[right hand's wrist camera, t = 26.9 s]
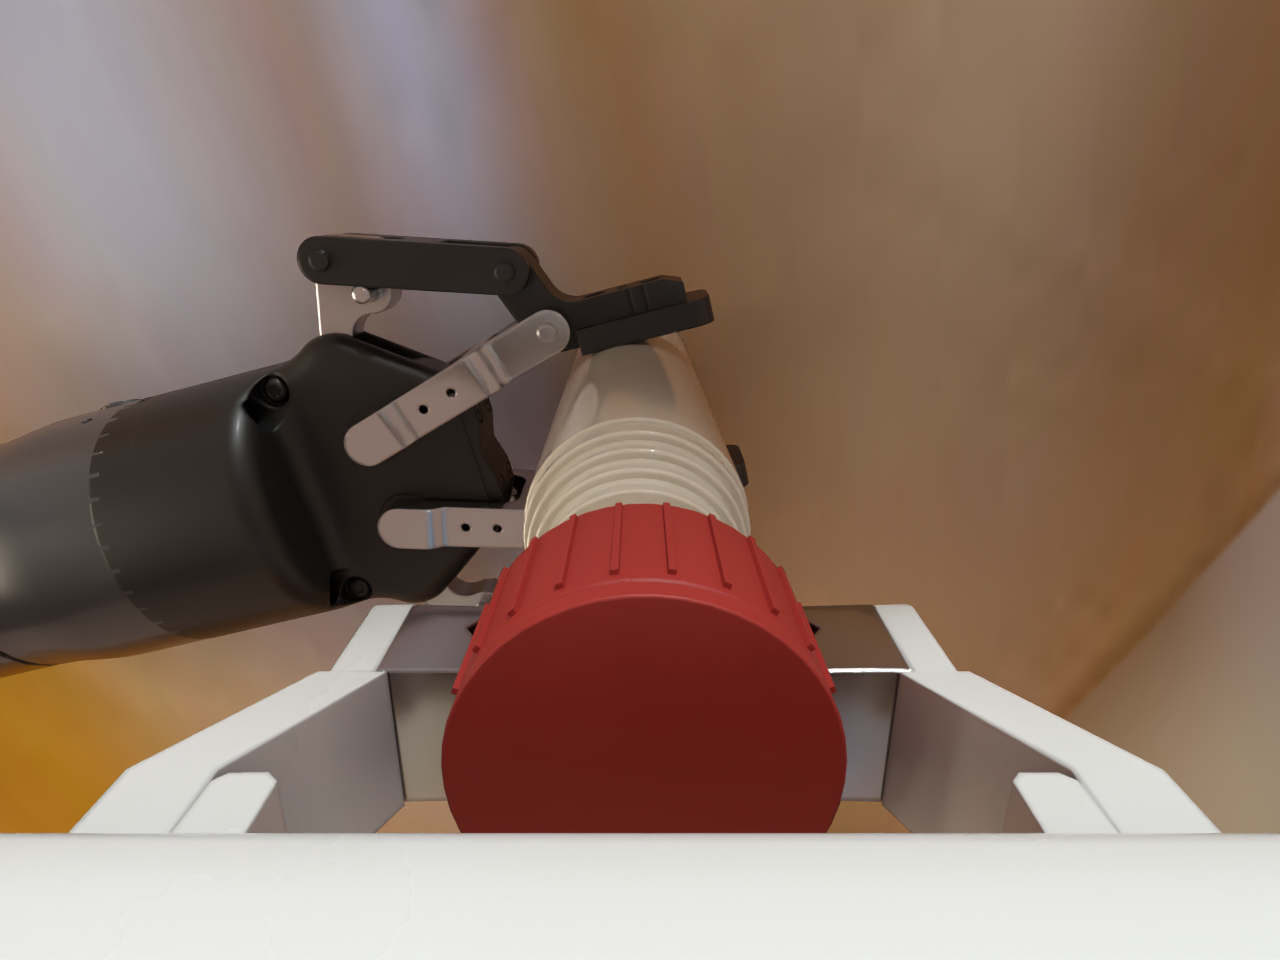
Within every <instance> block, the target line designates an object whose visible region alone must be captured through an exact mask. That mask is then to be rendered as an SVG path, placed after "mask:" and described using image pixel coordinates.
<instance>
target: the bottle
mask: <svg viewBox="0 0 1280 960" xmlns="http://www.w3.org/2000/svg"><path fill="white" fill-rule="evenodd" d="M620 502H622V505H625V504H660V505H663V502H667V503H670V506H676V507H680V508H684V509H689V510H693V511H696V512H699V513H702V514H704V515H707V516H708V515H709V513H711V514H713V515H715V516H716V519H717V520H719V521H721V522H723V523H725V524H727V525H729V526H731V527H733V528H734V529H736V530H737V531H739V532H740V533H741V534H743V535H744V536H746V537H748V536H749V535H750V536H751V525H750V518H749V508H748V501H747V497H746V494H745V490H744V487H743V485H742V482H741V480H740V477H739V475H738V473H737V470H736V468H735V465H734V463H733V461H732V458H731V456H730V453H729V451H728V449H727V446H726V444H725V441H724V439H723V437H722V434H721V432H720V429H719V427H718V425H717V422H716V420H715V417H714V415H713V413H712V410H711V408H710V405H709V403H708V401H707V398H706V396H705V393H704V391H703V389H702V386H701V384H700V381H699V379H698V377H697V374H696V372H695V369H694V367H693V365H692V362H691V360H690V357H689V355H688V353H687V350H686V348H685V346H684V343H683V341H682V340H681V338H680V336H679V335H678V334H677V332H675V333H671V334H667V335H663V336H659V337H655V338H651V339H647V340H643V341H639V342H635V343H631V344H627V345H622V346H617V347H613V348H610V349H606V350H604V351H600V352H596V353H592V354H588V355H584V356H582V354H581V350H580V347H579V348H578V351H577V354H576V357H575V360H574V362H573V365H572V368H571V371H570V374H569V377H568V380H567V383H566V385H565V388H564V391H563V394H562V397H561V400H560V403H559V405H558V408H557V411H556V414H555V417H554V420H553V423H552V426H551V428H550V431H549V434H548V437H547V440H546V443H545V446H544V449H543V451H542V454H541V457H540V460H539V463H538V466H537V469H536V471H535V474H534V477H533V480H532V483H531V486H530V489H529V492H528V495H527V498H526V503H525V509H524V524H523V544H524V550H525V549H526V548H527V547H528V546H529V544H530V541H531V539H532V538H533V537H535V536H536V537H537V538H539V537H541V536H542V535H543V534H545V533H546V532H547V531H549V530H551V529H553V528H554V527H556V526H558V525H560V524H561V523H563V522H565V521H567V520H569V518H570V516H571V515H574V514H576V515H577V516H579V515H582V514H584V513H587V512H591V511H594V510H598V509H602V508H606V507H611V506H615V503H620Z"/></svg>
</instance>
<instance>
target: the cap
mask: <svg viewBox="0 0 1280 960" xmlns="http://www.w3.org/2000/svg"><path fill="white" fill-rule="evenodd" d="M835 692H837V691H836V688H835V685H834V682H833V680H832V678H831V675H830V673H829V670H828V668H827V665H826V663H825V661H824V658H823V656H822V653H821V651H820V649H819V646H818V644H817V641H816V639H815V636H814V634H813V632H812V629H811V627H810V624H809V622H808V620H807V617H806V615H805V612H804V610H803V607H802V605H801V603H800V602H799V603H797V601H796V598H795V596H794V593H793V591H792V588H791V586H790V584H789V581H788V579H787V576H786V574H785V571H784V569H783V568H782V567H781V566H779V567H778V568H777V567H776V566H775V565H774V563H773V562H772V561H771V560H770V558H769V557H768V556H767V555H766V554H765V553H764V552H763V551H762V550H761V549H760V548H759V547H758V546H757V544H756V542H755V539H754V538H753V537H752V536H750V535H749V536H748V537H746V536H744V535H743V534H741V533H740V532H739V531H737V530H736V529H734V528H733V527H731V526H729V525H727V524H725V523H723V522H721V521H719V520H717V519H716V516H715V515H713V514H711V513H709V515H708V516H707V515H704V514H702V513H699V512H696V511H693V510H689V509H684V508H680V507H676V506H670V503H667V502H663V505H660V504H625V505H622V502H620V503H615V506H611V507H606V508H602V509H598V510H594V511H591V512H587V513H584V514H582V515H579V516H577V515H576V514H574V515H571V516H570V518H569V520H567V521H565V522H563V523H561V524H560V525H558V526H556V527H554V528H553V529H551V530H549V531H547V532H546V533H545V534H543V535H542V536H541V537H539V538H537V537H536V536H535V537H533V538H532V539H531V541H530V544H529V546H528V547H527V548H526V549H525V550H524V551H523V552H522V553H521V554H520V555H519V556H518V557H517V558H516V560H515V561H514V562H513V564H512V565H511V566H510V568H509V569H508V568H506V567H504V568H503V570H502V571H501V574H500V577H499V579H498V582H497V584H496V587H495V590H494V592H493V595H492V598H491V600H490V603H489V604H487V603H485V606H484V608H483V611H482V613H481V616H480V618H479V621H478V624H477V626H476V629H475V631H474V634H473V636H472V639H471V641H470V644H469V647H468V649H467V652H466V654H465V657H464V659H463V662H462V664H461V667H460V670H459V672H458V675H457V677H456V680H455V682H454V685H453V687H452V691H451V694H454V695H456V697H455V700H454V702H453V705H452V708H451V711H450V713H449V716H448V719H447V721H446V726H445V731H444V736H443V741H442V754H441V769H442V777H443V785H444V790H445V794H446V797H447V800H448V804H449V807H450V810H451V813H452V815H453V817H454V819H455V821H456V823H457V826H458V828H459V830H460V831H461V833H826V832H827V830H828V829H829V827H830V825H831V824H832V821H833V819H834V817H835V814H836V812H837V809H838V807H839V805H840V801H841V797H842V793H843V789H844V785H845V780H846V769H847V749H846V737H845V733H844V729H843V724H842V720H841V716H840V714H839V711H838V709H837V706H836V704H835V701H834V699H833V696H832V693H835Z"/></svg>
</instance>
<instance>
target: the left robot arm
mask: <svg viewBox="0 0 1280 960" xmlns="http://www.w3.org/2000/svg"><path fill="white" fill-rule="evenodd" d="M297 262H298V266H299V268H300V270H301V272H302V273H303V274H304V276H305V277H306V278H308V279H309V280H310V281H312V282H314V283H316V295H317V307H318V319H319V331H320V336H318V337H316V338H314V339H313V340H311V341H310V342H309V343H307V344H306V345H305V346H304V348H303V349H302V350H301V351H300V352H299V353H298V354H297V355H296V356H295V357H294V358H293V359H291V360H290V361H286V362H283V363H279V364H276V365H272V366H268V367H264V368H260V369H256V370H253V371H249V372H245V373H241V374H237V375H233V376H230V377H226V378H222V379H218V380H214V381H211V382H207V383H203V384H199V385H195V386H191V387H188V388H184V389H180V390H176V391H172V392H168V393H164V394H160V395H157V396H153V397H149V398H145V399H133V400H125V401H119V402H115V403H111V404H108V405H106V406H105V407H103V408H101V409H100V410H99V411H95V412H92V413H88V414H84V415H80V416H76V417H72V418H69V419H65V420H62V421H59V422H56V423H53V424H50V425H48V426H45V427H43V428H40V429H38V430H35V431H33V432H31V433H28V434H26V435H24V436H22V437H19V438H17V439H15V440H13V441H10V442H8V443H4V444H1V445H0V678H2V677H7V676H11V675H15V674H20V673H24V672H28V671H33V670H37V669H41V668H46V667H50V666H54V665H59V664H64V663H70V662H75V661H83V660H96V659H109V658H119V657H128V656H133V655H139V654H144V653H148V652H153V651H157V650H161V649H166V648H170V647H174V646H179V645H183V644H187V643H192V642H196V641H200V640H205V639H209V638H214V637H219V636H223V635H227V634H232V633H236V632H240V631H245V630H248V629H253V628H257V627H261V626H266V625H270V624H275V623H279V622H283V621H288V620H292V619H297V618H301V617H305V616H310V615H314V614H318V613H323V612H327V611H332V610H336V609H339V608H342V607H346V606H349V605H352V604H355V603H358V602H361V601H364V600H367V599H371V598H391V599H397V600H401V601H405V602H411V603H419V602H426V603H427V605H456V606H485V603H487V604H489V603H490V600H491V598H492V595H493V592H494V590H495V587H496V584H497V582H498V579H495V578H492V579H483V580H481V581H478V582H472V583H471V582H465V581H462V580H461V579H459V578H458V577H456V576H457V575H458V573H459V572H460V571H461V570H462V569H463V567H464V566H465V565H466V564H467V563H468V561H469V560H470V559H471V558H472V557H473V556H474V554H475V553H476V552H477V551H478V550H479V548H480V547H484V548H513V549H524V544H523V524H524V509H525V503H526V498H527V495H528V492H529V489H530V486H531V483H532V480H533V477H534V474H535V471H536V470H512V468H511V464H510V461H509V458H508V456H507V455H506V453H505V451H504V450H503V448H502V447H501V445H500V444H499V442H498V441H497V439H496V438H495V436H494V429H493V410H492V406H491V403H490V400H489V396H491V395H493V394H494V393H496V392H497V391H498V390H500V389H501V388H502V387H504V386H505V385H506V384H508V383H509V382H511V381H512V380H514V379H516V378H517V377H519V376H521V375H522V374H524V373H526V372H527V371H529V370H531V369H532V368H534V367H536V366H537V365H539V364H541V363H542V362H544V361H546V360H547V359H549V358H551V357H552V356H554V355H556V354H557V353H559V352H563V351H567V350H571V349H575V348H579V347H580V350H581V354H582V356H584V355H588V354H592V353H596V352H600V351H604V350H606V349H610V348H613V347H617V346H622V345H627V344H631V343H635V342H639V341H643V340H647V339H651V338H655V337H659V336H663V335H667V334H671V333H675V332H679V331H683V330H687V329H691V328H694V327H698V326H702V325H705V324H708V323H710V322H712V321H714V316H713V312H712V307H711V302H710V298H709V294H708V293H707V292H706V290H696V291H691V292H687V293H686V292H685V288H684V284H683V281H682V279H681V277H674V276H667V275H659V276H655V277H651V278H648V279H644V280H640V281H636V282H632V283H629V284H624V285H621V286H617V287H613V288H609V289H605V290H601V291H598V292H594V293H590V294H586V295H582V296H570V295H567V294H565V293H562V292H561V291H559V290H558V289H557V288H556V287H555V286H554V285H553V283H552V282H551V281H550V279H549V278H548V276H547V275H546V273H545V272H544V271H543V269H542V268H541V266H540V264H539V259H538V256H537V254H536V253H535V252H534V250H533V249H532V248H530V247H529V246H527V245H525V244H520V243H506V242H490V241H473V240H457V239H441V238H424V237H408V236H392V235H376V234H359V233H345V234H332V235H324V236H314V237H310V238H308V239H306V240H305V241H304V242H303V243H302V244H301V245H300V247H299V249H298V252H297ZM402 289H405V290H422V291H438V292H455V293H472V294H488V295H498V297H499V298H500V299H501V301H502V302H503V303H504V305H505V306H506V308H507V309H508V310H509V312H510V313H511V314H512V316H513V317H514V319H515V320H516V321H514V322H513V323H511V324H509V325H508V326H506V327H504V328H503V329H501V330H499V331H498V332H495V333H494V334H492V335H490V336H489V337H487V338H485V339H484V340H482V341H480V342H479V343H477V344H475V345H474V346H472V347H471V348H469V349H467V350H466V351H464V352H462V353H461V354H459V355H458V356H456V357H454V358H453V359H451V360H449V361H448V362H444V361H441V360H438V359H436V358H433V357H431V356H428V355H425V354H423V353H420V352H417V351H415V350H412V349H410V348H407V347H404V346H402V345H399V344H397V343H394V342H391V341H389V340H386V339H384V338H381V337H378V336H376V335H373V334H370V333H368V332H365V331H364V323H365V321H366V319H367V317H368V316H369V315H370V314H377V313H380V312H383V311H385V310H387V309H390V308H392V307H394V306H395V305H396V304H397V303H398V302H399V300H400V298H401V294H402ZM726 446H727V449H728V451H729V453H730V456H731V458H732V461H733V463H734V465H735V468H736V470H737V473H738V475H739V477H740V480H741V482H742V485H743V487H745V486H746V485H747V484H748V477H747V472H746V467H745V463H744V459H743V456H742V454H741V451H740V449H739V447H738V446H736V445H726ZM513 489H515V490H516V491H515V490H513ZM499 525H500V526H499Z"/></svg>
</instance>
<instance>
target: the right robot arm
mask: <svg viewBox="0 0 1280 960" xmlns="http://www.w3.org/2000/svg"><path fill="white" fill-rule="evenodd" d="M802 607H803V610H804V612H805V615H806V617H807V620H808V622H809V624H810V627H811V629H812V632H813V634H814V636H815V639H816V641H817V644H818V646H819V649H820V651H821V653H822V656H823V658H824V661H825V663H826V665H827V668H828V670H829V673H830V675H831V678H832V680H833V682H834V685H835V688H836V691H837V692H835V693H832V696H833V699H834V701H835V704H836V706H837V709H838V711H839V714H840V716H841V720H842V724H843V729H844V733H845V737H846V749H847V769H846V780H845V785H844V789H843V793H842V797H841V800H843V801H879V802H882V805H883V806H884V807H885V808H886V809H887V810H888V811H889V812H890V813H891V814H892V815H893V816H894V817H896V818H897V819H898V820H899V821H900V822H901V823H902V824H903V825H904V826H905V827H906V828H907V829H908V830H909V831H911V832H912V833H376V832H377V831H378V830H379V829H380V828H381V827H382V826H383V825H384V824H385V823H386V822H387V821H388V820H389V819H391V818H392V817H393V816H394V815H395V814H396V813H397V812H398V811H399V810H400V809H401V808H402V807H403V806H404V802H407V801H442V800H447V797H446V794H445V790H444V785H443V777H442V769H441V754H442V741H443V736H444V731H445V726H446V721H447V719H448V716H449V713H450V711H451V708H452V705H453V702H454V700H455V697H456V695H454V694H451V691H452V687H453V685H454V682H455V680H456V677H457V675H458V672H459V670H460V667H461V664H462V662H463V659H464V657H465V654H466V652H467V649H468V647H469V644H470V641H471V639H472V636H473V634H474V631H475V629H476V626H477V624H478V621H479V618H480V616H481V613H482V611H483V608H484V606H456V605H416V606H415V605H414V604H391V605H377V606H374V607H373V608H372V609H371V610H370V612H369V613H368V615H367V616H366V618H365V619H364V621H363V622H362V624H361V625H360V627H359V628H358V630H357V631H356V633H355V634H354V636H353V637H352V639H351V640H350V641H349V643H348V644H347V646H346V647H345V649H344V650H343V652H342V653H341V655H340V656H339V658H338V659H337V661H336V662H335V664H334V665H333V667H332V668H331V670H330V671H317V672H316V673H314V674H312V675H310V676H308V677H306V678H304V679H302V680H300V681H298V682H296V683H294V684H292V685H290V686H288V687H286V688H284V689H282V690H280V691H278V692H276V693H274V694H272V695H271V696H269V697H267V698H265V699H263V700H261V701H259V702H257V703H255V704H253V705H251V706H249V707H247V708H245V709H243V710H241V711H239V712H237V713H235V714H233V715H231V716H229V717H227V718H226V719H224V720H222V721H220V722H218V723H216V724H214V725H212V726H210V727H208V728H206V729H204V730H202V731H200V732H198V733H196V734H194V735H192V736H190V737H188V738H186V739H184V740H182V741H181V742H179V743H177V744H175V745H173V746H171V747H169V748H167V749H165V750H163V751H161V752H159V753H157V754H155V755H153V756H151V757H149V758H147V759H145V760H143V761H141V762H139V763H137V764H136V765H134V766H132V767H130V768H128V769H126V770H125V771H124V772H123V773H122V774H121V776H120V777H119V778H118V779H117V780H116V781H115V782H114V783H113V784H112V785H111V787H110V788H109V789H108V790H107V791H106V792H105V793H104V794H103V795H102V796H101V797H100V799H99V800H98V801H97V802H96V803H95V804H94V805H93V806H92V807H91V808H90V810H89V811H88V812H87V813H86V814H85V815H84V816H83V817H82V818H81V819H80V821H79V822H78V823H77V824H76V825H75V826H74V827H73V828H72V829H71V830H70V831H69V833H0V960H1280V833H1221V832H1220V831H1219V830H1218V828H1217V827H1216V826H1215V825H1214V824H1213V823H1212V822H1211V821H1210V820H1209V819H1208V817H1207V816H1206V815H1205V814H1204V813H1203V812H1202V811H1201V810H1200V809H1199V808H1198V807H1197V806H1196V804H1195V803H1194V802H1193V801H1192V800H1191V799H1190V798H1189V797H1188V796H1187V795H1186V794H1185V793H1184V791H1183V790H1182V789H1181V788H1180V787H1179V786H1178V785H1177V784H1176V783H1175V782H1174V781H1173V779H1172V778H1171V777H1170V776H1169V775H1168V774H1167V773H1166V772H1165V771H1164V770H1162V769H1160V768H1158V767H1157V766H1154V765H1153V764H1151V763H1149V762H1147V761H1145V760H1143V759H1141V758H1139V757H1137V756H1135V755H1133V754H1131V753H1129V752H1127V751H1125V750H1123V749H1121V748H1119V747H1117V746H1115V745H1113V744H1111V743H1109V742H1107V741H1105V740H1103V739H1101V738H1099V737H1098V736H1095V735H1094V734H1092V733H1090V732H1088V731H1086V730H1084V729H1082V728H1080V727H1078V726H1076V725H1074V724H1072V723H1070V722H1068V721H1066V720H1064V719H1062V718H1060V717H1058V716H1056V715H1054V714H1052V713H1050V712H1048V711H1046V710H1044V709H1042V708H1040V707H1038V706H1037V705H1035V704H1033V703H1031V702H1029V701H1027V700H1025V699H1023V698H1021V697H1019V696H1017V695H1015V694H1013V693H1011V692H1009V691H1007V690H1005V689H1003V688H1001V687H999V686H997V685H995V684H993V683H991V682H989V681H987V680H985V679H983V678H981V677H979V676H978V675H976V674H974V673H972V672H970V671H957V670H956V668H955V667H954V666H953V664H952V663H951V661H950V660H949V658H948V657H947V655H946V654H945V653H944V651H943V650H942V648H941V647H940V645H939V644H938V642H937V641H936V640H935V638H934V637H933V635H932V634H931V632H930V631H929V629H928V628H927V627H926V625H925V624H924V622H923V621H922V619H921V618H920V616H919V615H918V614H917V612H916V611H915V609H914V608H913V607H912V606H910V605H908V604H890V605H839V606H802Z"/></svg>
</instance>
